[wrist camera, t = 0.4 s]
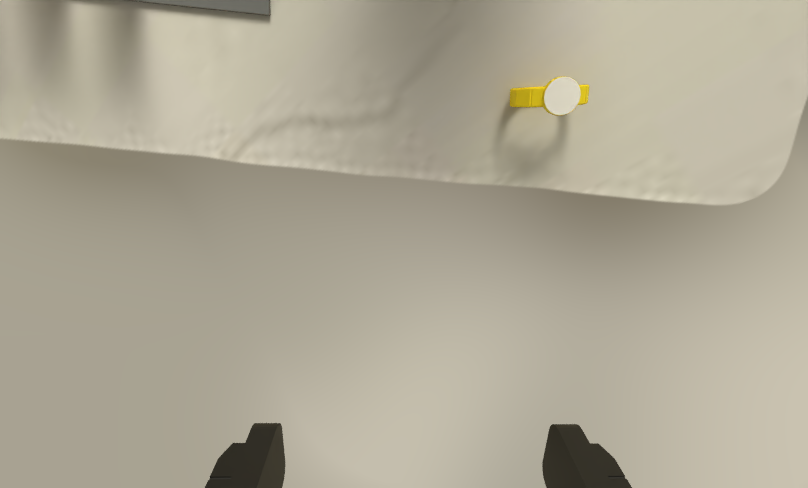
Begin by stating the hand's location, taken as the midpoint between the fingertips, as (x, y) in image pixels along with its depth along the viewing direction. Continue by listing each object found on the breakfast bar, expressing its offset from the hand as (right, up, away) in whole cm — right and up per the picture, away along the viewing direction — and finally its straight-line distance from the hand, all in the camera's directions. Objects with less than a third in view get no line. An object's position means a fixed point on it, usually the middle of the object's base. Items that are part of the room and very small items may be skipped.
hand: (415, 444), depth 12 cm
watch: (+11, +19, +24) cm, 33 cm away
